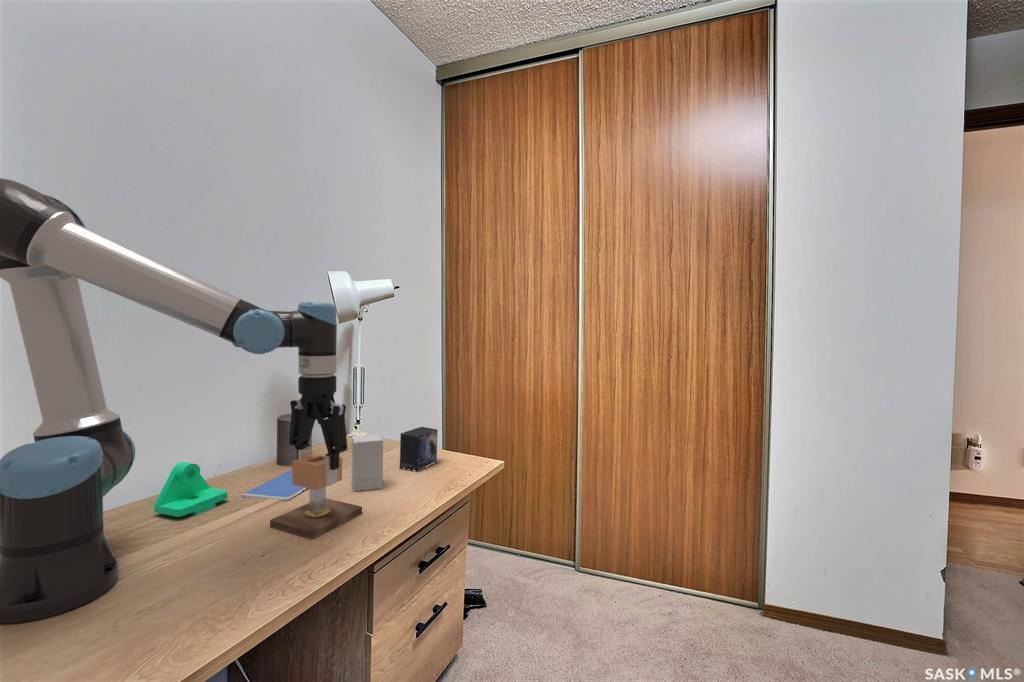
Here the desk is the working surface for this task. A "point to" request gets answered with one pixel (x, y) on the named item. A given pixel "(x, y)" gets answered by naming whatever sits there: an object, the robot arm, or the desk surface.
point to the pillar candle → (286, 441)
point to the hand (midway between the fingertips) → (317, 481)
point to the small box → (418, 448)
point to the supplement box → (367, 462)
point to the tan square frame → (312, 471)
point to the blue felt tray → (276, 488)
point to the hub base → (316, 515)
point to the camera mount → (187, 492)
